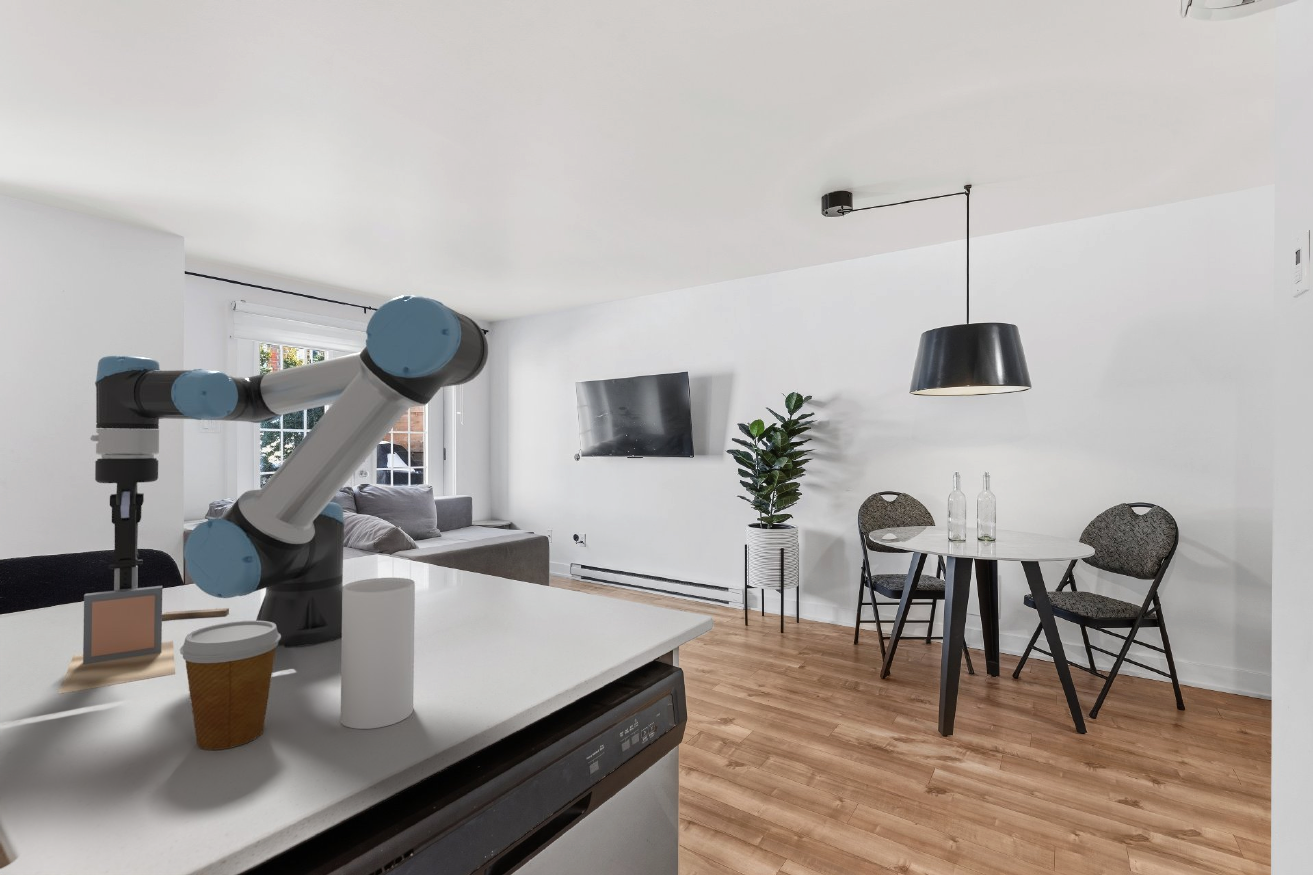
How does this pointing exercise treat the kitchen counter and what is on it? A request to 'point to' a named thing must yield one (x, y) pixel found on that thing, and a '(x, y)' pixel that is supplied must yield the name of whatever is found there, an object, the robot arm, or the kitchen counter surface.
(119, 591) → the tile
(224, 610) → the turner
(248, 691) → the disposable coffee cup
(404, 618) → the cup
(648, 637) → the kitchen counter surface
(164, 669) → the board
